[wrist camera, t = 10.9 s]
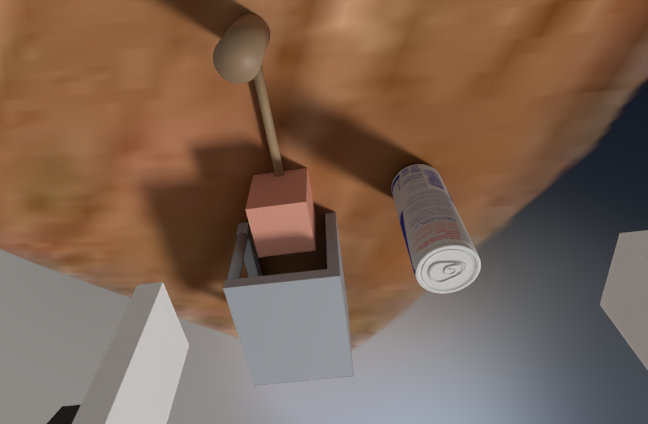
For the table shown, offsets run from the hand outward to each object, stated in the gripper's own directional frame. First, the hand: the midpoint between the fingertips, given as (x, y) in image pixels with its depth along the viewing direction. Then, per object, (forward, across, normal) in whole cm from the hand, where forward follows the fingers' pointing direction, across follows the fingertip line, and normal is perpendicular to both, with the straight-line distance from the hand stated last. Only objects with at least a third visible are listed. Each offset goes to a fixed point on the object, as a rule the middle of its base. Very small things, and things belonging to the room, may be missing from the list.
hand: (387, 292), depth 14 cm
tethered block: (+35, -8, -8) cm, 37 cm away
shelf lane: (+35, -8, -27) cm, 45 cm away
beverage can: (+35, +7, -17) cm, 39 cm away
